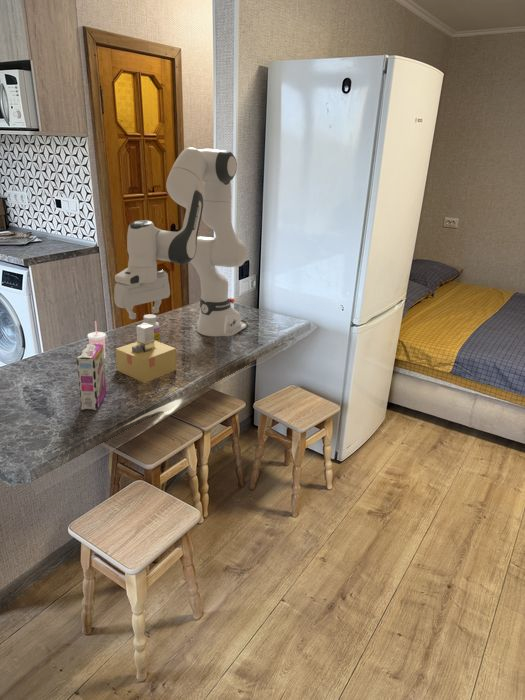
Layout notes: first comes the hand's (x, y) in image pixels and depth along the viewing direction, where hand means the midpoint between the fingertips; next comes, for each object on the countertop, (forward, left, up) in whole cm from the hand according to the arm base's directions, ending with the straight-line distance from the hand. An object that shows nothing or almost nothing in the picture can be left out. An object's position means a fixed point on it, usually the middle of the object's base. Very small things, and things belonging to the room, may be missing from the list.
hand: (144, 315), depth 158 cm
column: (0, 0, -20) cm, 20 cm away
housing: (0, 0, -20) cm, 20 cm away
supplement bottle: (-14, -14, -20) cm, 28 cm away
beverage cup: (+5, -20, -20) cm, 29 cm away
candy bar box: (+25, +6, -20) cm, 32 cm away
